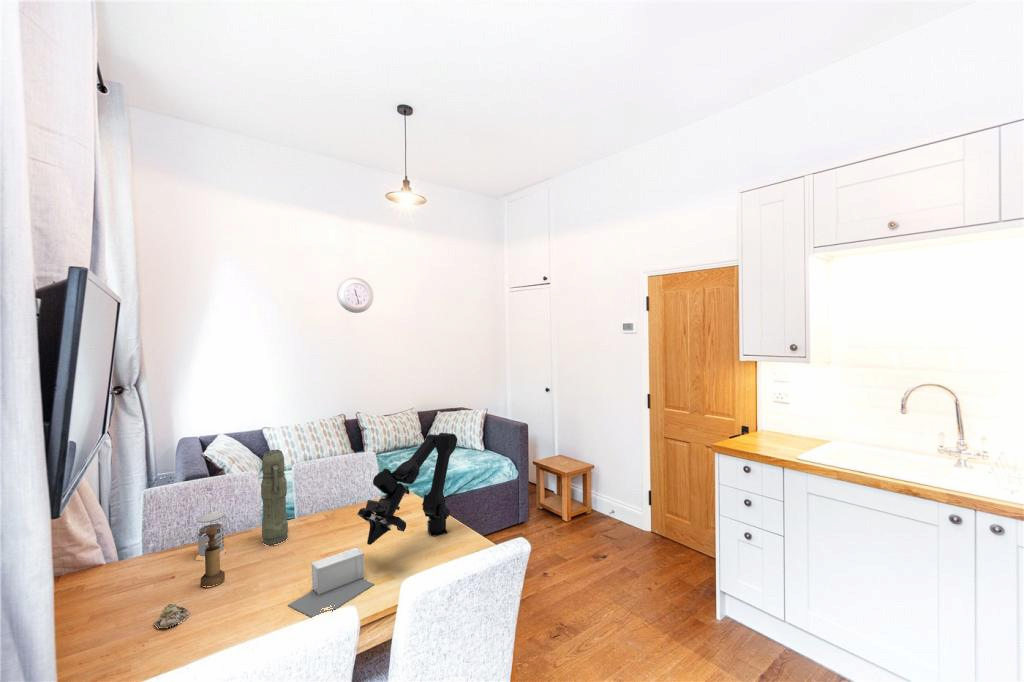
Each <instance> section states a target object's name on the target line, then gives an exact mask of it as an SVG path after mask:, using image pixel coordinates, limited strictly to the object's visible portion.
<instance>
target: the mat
mask: <svg viewBox="0 0 1024 682" xmlns="http://www.w3.org/2000/svg"><path fill="white" fill-rule="evenodd" d="M373 586H375V583H373V582H370V581H368V580H366V579H363V578H360V579H358V580H355V581H353V582H350V583H348V584H345V585H342V586H340V587H337V588H335V589H332V590H330V591H327V592H325V593H322V594H320V595H318V594H317V593H316V592H315V590H314V589H313V590H311V591H310V592H308V593H306V594H304V595H303V596H301V597H299V598H297V599H295V600H294V601H292V602H290V603H288V604H287V606H288V607H289V608H291V609H294V610H295V611H297V612H300V613H301V614H303V615H306V616H307V617H310V618H311V617H314V616H316V615H319V614H321V613H324V612H327V611H331V610H334V609H336V610H337V609H339V608H340V607H341V605H342V606H344V605H345V604H347V603H348V602H349V601H352V600H353V599H354V598H356V597H358V596H359V595H360V593H361V594H362V593H364V592H366V591H367V590H369V589H370V588H371V587H373ZM357 595H358V596H357ZM346 602H347V603H346ZM330 605H331V606H332V607H330ZM334 605H335V606H334ZM326 607H330V608H333V609H330V608H328V609H330V610H325V611H324V609H322V608H326ZM321 609H322V610H321ZM320 611H321V612H320ZM334 611H335V610H334Z"/></svg>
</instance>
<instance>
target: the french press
mask: <svg viewBox="0 0 1024 682" xmlns="http://www.w3.org/2000/svg"><path fill="white" fill-rule="evenodd" d="M213 489H214V488H213V486H212V485H211V486H208V487H206V491H212V490H213ZM211 504H212V503H211V501H209V512H206V513H203V514H202V515H201V516H199V517H198V518H197V519H196V521H197V522H198V523H209V524H208V525H205V526H202V527H200V529H198V532H199V533H198V534H197V535H198V536H197V541H198V543H197V544H198V548H197V549H198V554H199V555H200V556H205V549H206V548H208V547H209V545H208V541H209V537H208V536H207V535H206V531H207V529H208V528H209V527H216V528H217V533H216V535H215V540H216V545H215V546H220V552H221V551H223V550H224V548H225V545H224V544H225V543H224V540H225V536H226V535H227V534H228V532H229V531H230V528H231V520H230V518H229V517H227V516H224V513H223V512H220V511H211V507H212V505H211ZM224 519H225V522H226V523H225V524H226V525H225V529H224V528H223V524H221V523H214V524H212V522H214V521H222V522H223V520H224ZM228 522H229V524H228ZM227 527H228V528H227ZM224 533H225V534H224Z"/></svg>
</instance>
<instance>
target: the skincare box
mask: <svg viewBox="0 0 1024 682" xmlns="http://www.w3.org/2000/svg"><path fill="white" fill-rule="evenodd" d="M364 555H365V554H364V552H363V550H361V548H359V547H354V548H351V549H350V548H349V549H347V550H346V551H342V552H339V553H337V554H333V555H329V556H327V557H324V558H322V559H319V560H316V561H313V562H311V581H312V582H311V583H312V584H311V585H312V586H311V587H312V588H311V589H313V590H315V592H316V593H317V594H318V595H320V594H322V593H325V592H327V591H330V590H332V589H335V588H337V587H340V586H342V585H345V584H348V583H350V582H353V581H355V580H358V579H363V578H365V556H364Z"/></svg>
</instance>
